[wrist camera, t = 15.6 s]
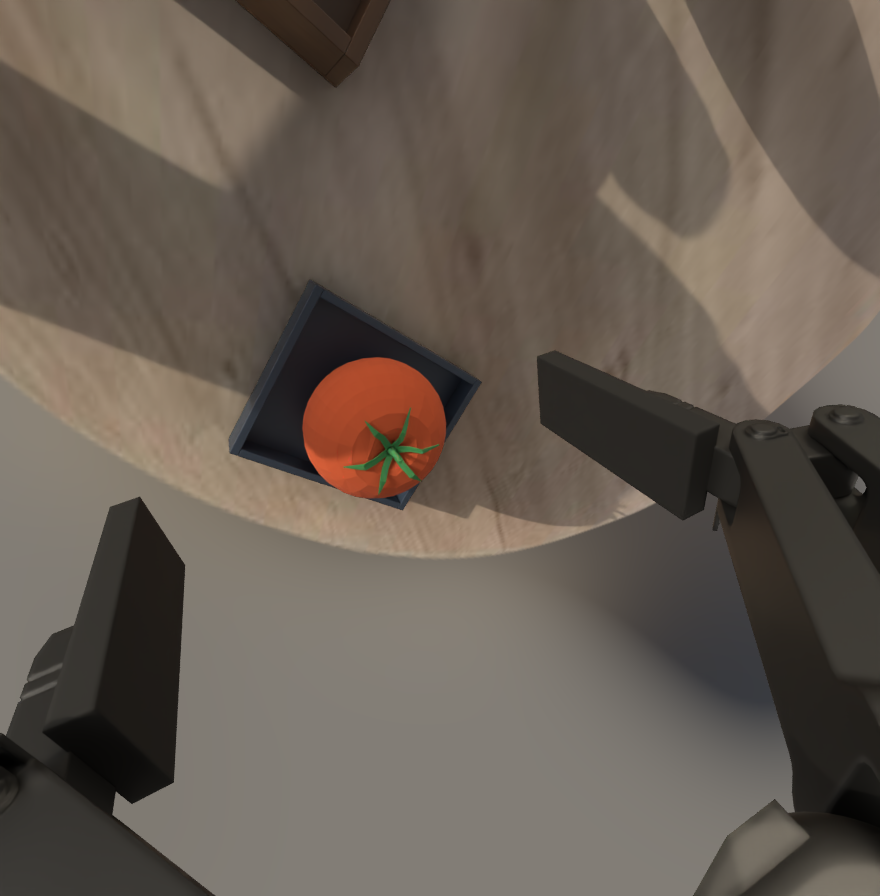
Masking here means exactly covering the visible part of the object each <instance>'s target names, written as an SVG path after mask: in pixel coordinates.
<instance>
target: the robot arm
mask: <svg viewBox="0 0 880 896" xmlns="http://www.w3.org/2000/svg"><path fill="white" fill-rule="evenodd" d="M537 368H538V386H539V404H540V423H541V424H542V425H544V426H545V427H547V428H548V429H549V430H551V431H552V432H554V433H555V434H557V435H558V436H560V437H561V438H563V439H564V440H566V441H567V442H568V443H570V444H571V445H573V446H574V447H576V448H577V449H579V450H580V451H582V452H583V453H585V454H586V455H588V456H589V457H590V458H592V459H593V460H595V461H596V462H598V463H599V464H601V465H602V466H604V467H605V468H607V469H608V470H609V471H611V472H612V473H614V474H615V475H617V476H618V477H620V478H621V479H623V480H624V481H626V482H627V483H629V484H630V485H631V486H633V487H634V488H636V489H637V490H639V491H640V492H642V493H643V494H645V495H646V496H648V497H649V498H650V499H652V500H653V501H655V502H656V503H658V504H659V505H661V506H662V507H664V508H665V509H667V510H668V511H670V512H671V513H672V514H674V515H676V516H677V517H678V518H680V519H681V520H685V519H687V518H689V517H690V516H693V515H694V514H696V513H698V512H700V511H702V510H704V506H705V501H706V496H707V492H709V493H711V494H712V495H714V496H716V497H717V498H718V503H717V507H716V512H715V517H714V522H713V531H717V529H718V525H719V524H720V523H721V525H722V528H723V532H724V535H725V539H726V542H727V545H728V549H729V552H730V555H731V559H732V562H733V566H734V569H735V572H736V576H737V579H738V582H739V586H740V589H741V592H742V596H743V599H744V603H745V606H746V609H747V613H748V616H749V620H750V623H751V626H752V630H753V633H754V636H755V640H756V643H757V647H758V650H759V653H760V657H761V660H762V663H763V666H764V670H765V673H766V677H767V680H768V683H769V687H770V690H771V694H772V697H773V701H774V704H775V707H776V710H777V714H778V717H779V721H780V724H781V728H782V731H783V734H784V738H785V741H786V744H787V748H788V751H789V754H790V759H791V763H792V771H793V776H792V777H793V778H792V795H793V804H794V809H795V812H793V813H787V812H786V811H785V810H784V808H783V807H782V806H781V805H780V804H779V803H778V802H777V801H776V800H775V799H774V800H773V801H772V802H771V803H769V804H768V805H767V806H765V807H764V808H763V809H761V810H760V811H759V812H757V814H755V815H754V816H752V817H751V818H750V819H749V820H747V821H746V822H745V823H743V824H742V825H741V826H740V827H738V828H737V829H736V830H734V831H733V832H732V833H731V834H729V835H728V836H727V837H726V839H725V841H724V842H723V844H722V846H721V848H720V849H719V851H718V853H717V855H716V856H715V858H714V860H713V862H712V864H711V865H710V867H709V869H708V870H707V872H706V874H705V876H704V878H703V880H702V881H701V883H700V885H699V886H698V888H697V890H696V892H695V893H694V895H693V896H880V418H879V417H878V416H876V415H875V414H873V413H870V412H868V411H866V410H864V409H860V408H857V407H855V406H850V405H847V406H845V405H827V406H823V407H819V408H818V409H816V410H815V411H814V412H813V416H812V419H811V422H810V425H808V426H802V427H797V428H792V429H789V428H787V427H785V426H783V425H781V424H779V423H775V422H771V421H766V420H746V421H743V422H740V423H737V424H735V423H733V422H730V421H728V420H726V419H723V418H721V417H719V416H716V415H714V414H712V413H709V412H707V411H705V410H703V409H700V408H698V407H695V408H694V407H693V405H691V404H689V403H686V402H682V401H681V400H679V399H677V398H675V397H672V396H670V395H668V394H664V393H659V392H654V391H649V390H648V391H645V390H643V389H640V388H638V387H636V386H634V385H631V384H629V383H627V382H625V381H622V380H620V379H618V378H616V377H614V376H611V375H609V374H607V373H605V372H602V371H600V370H598V369H596V368H593V367H591V366H589V365H587V364H584V363H582V362H580V361H578V360H575V359H573V358H571V357H569V356H566V355H564V354H562V353H560V352H558V351H555V350H554V351H552V352H549V353H546V354H543V355H540V356H537ZM858 476H859V477H861V478H862V480H863V481H864V483H865V485H866V487H867V488H866V490H865V492H864V493H863V494H862V493H860V492H859V491H858V490H857V489H856V488H855V487H854V486H855V484H856V481H857V479H858ZM184 578H185V564H184V563H183V561H182V560H181V558H180V557H179V555H178V554H177V552H176V551H175V549H174V548H173V546H172V545H171V543H170V542H169V540H168V539H167V537H166V535H165V534H164V532H163V531H162V530H161V528H160V526H159V525H158V523H157V522H156V520H155V519H154V518H153V516H152V514H151V513H150V511H149V510H148V508H147V507H146V505H145V504H144V502H143V501H142V499H141V498H140V497H138V498H135V499H132V500H129V501H126V502H123V503H120V504H118V505H115V506H112V507H110V509H109V512H108V515H107V519H106V522H105V525H104V528H103V532H102V535H101V538H100V542H99V545H98V548H97V552H96V555H95V558H94V561H93V565H92V568H91V571H90V575H89V578H88V581H87V585H86V588H85V591H84V595H83V598H82V601H81V604H80V608H79V611H78V614H77V618H76V621H75V624H74V626H71V627H69V628H66V629H64V630H61V631H59V632H57V633H54V634H52V635H51V637H50V638H49V639H48V641H47V642H46V643H45V645H44V646H43V647H42V649H41V650H40V651H39V652H38V654H37V655H36V657H35V658H34V661H33V664H32V666H31V669H30V672H29V674H28V677H27V681H28V683H26V684H25V685H24V688H23V691H22V694H21V696H20V698H21V701H20V702H18V704H17V707H16V710H15V713H14V715H13V718H12V721H11V723H10V726H9V729H8V732H7V734H6V736H5V735H4V734H2V733H0V896H215V895H214V894H212V893H211V892H210V891H209V890H207V889H206V888H205V887H204V886H202V885H201V884H200V883H198V882H197V881H196V880H195V879H193V878H192V877H191V876H189V875H188V874H187V873H186V872H185V871H183V870H182V869H181V868H179V867H178V866H177V865H176V864H174V863H173V862H172V861H170V860H169V859H168V858H167V857H165V856H164V855H163V854H162V853H160V852H159V851H157V849H155V848H154V847H153V846H152V845H150V844H149V843H148V842H146V841H145V840H144V839H143V838H141V837H140V836H139V835H137V834H136V833H135V832H134V831H132V830H131V829H130V828H129V827H127V826H126V825H125V824H124V823H122V822H121V821H120V820H118V819H117V818H116V817H114V816H113V815H112V813H113V806H114V799H115V793H116V792H118V793H119V794H120V795H121V796H123V797H124V798H125V799H126V800H127V801H129V802H130V803H131V804H133V803H135V802H137V801H139V800H141V799H142V798H144V797H146V796H148V795H150V794H152V793H154V792H156V791H158V790H160V789H162V788H164V787H166V786H168V785H170V784H172V783H173V782H174V768H175V749H176V730H177V729H176V728H177V711H178V710H177V709H178V692H179V673H180V653H181V634H182V616H183V615H182V614H183V597H184Z"/></svg>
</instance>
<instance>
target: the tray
mask: <svg viewBox="0 0 880 896" xmlns="http://www.w3.org/2000/svg"><path fill="white" fill-rule="evenodd" d="M373 357H380V358H390V359H393V360H396V361H399V362H402V363H404V364H407V365H408V366H410V367H412V368H414V369H415V370H417V371H419V372H420V373H421V374H422V375H423V376H424V377H425V378H426V379H427V380H428V381H429V382H430V383H431V385H432V386H433V388H434V389H435V391H436V392H437V393H438V395H439V397H440V400H441V402H442V405H443V409H444V413H445V419H446V436H445V441H446V439H447V438H448V436H449V434H450V433H451V431H452V430H453V428H454V426H455V425H456V423H457V421H458V420H459V418H460V417H461V415H462V413H463V412H464V410H465V408H466V407H467V405H468V404H469V402H470V400H471V399H472V397H473V395H474V394H475V392H476V391H477V389H478V387H479V386H480V384H481V381H479V380H478V379H477V378H475V377H474V376H472V375H471V374H469V373H467V372H466V371H464V370H462V369H461V368H459V367H457V366H456V365H454V364H452V363H451V362H449V361H447V360H445V359H444V358H442V357H440V356H439V355H437V354H435V353H434V352H432V351H430V350H429V349H427V348H425V347H423V346H422V345H420V344H418V343H417V342H415V341H413V340H412V339H410V338H408V337H407V336H405V335H403V334H402V333H400V332H398V331H396V330H395V329H393V328H391V327H390V326H388V325H386V324H385V323H383V322H381V321H380V320H378V319H376V318H374V317H373V316H371V315H369V314H368V313H366V312H364V311H363V310H361V309H359V308H358V307H356V306H354V305H353V304H351V303H349V302H347V301H346V300H344V299H342V298H341V297H339V296H337V295H336V294H334V293H332V292H331V291H329V290H327V289H325V288H324V287H322V286H320V285H319V284H317V283H315V282H314V281H312V280H309V282H308V284H307V286H306V288H305V290H304V292H303V294H302V295H301V297H300V299H299V301H298V303H297V305H296V307H295V309H294V311H293V313H292V315H291V317H290V319H289V321H288V323H287V325H286V327H285V329H284V331H283V333H282V335H281V337H280V339H279V341H278V343H277V345H276V347H275V349H274V351H273V353H272V355H271V357H270V358H269V360H268V362H267V364H266V366H265V368H264V370H263V372H262V374H261V376H260V378H259V380H258V382H257V384H256V386H255V388H254V390H253V392H252V394H251V396H250V398H249V400H248V402H247V404H246V406H245V408H244V410H243V412H242V414H241V416H240V418H239V419H238V421H237V423H236V425H235V427H234V429H233V431H232V433H231V435H230V437H229V452H230V453H231V454H234V455H237V456H240V457H243V458H246V459H249V460H252V461H255V462H258V463H261V464H264V465H267V466H270V467H273V468H276V469H279V470H282V471H285V472H288V473H291V474H294V475H297V476H300V477H303V478H306V479H309V480H312V481H315V482H318V483H321V484H324V485H327V486H330V487H333V488H336V487H334V486H332V485H331V484H329V483H328V482H327V481H326V480H325V479H324V478H323V477H322V476H321V475H320V474H319V473H318V471H317V470H316V468H315V467H314V465H313V464H312V462H311V461H310V459H309V457H308V454H307V452H306V449H305V445H304V437H303V417H304V412H305V409H306V406H307V403H308V401H309V399H310V397H311V395H312V394H313V392H314V390H315V388H316V387H317V386H318V385H319V384H320V382H321V381H322V380H323V379H324V378H325V377H326V376H327V375H328V374H330V373H331V372H332V371H334V370H335V369H336V368H338V367H340V366H342V365H344V364H346V363H348V362H352V361H355V360H359V359H362V358H373ZM445 441H444V443H445ZM420 482H421V481H420ZM420 482H419V483H420ZM419 483H418V484H417V485H415V486H414V487H412V488H410V489H409V490H407V491H405V492H403V493H400V494H397V495H395V496H390V497H386V498H367V499H370V500H373V501H376V502H379V503H382V504H385V505H388V506H391V507H394V508H397V509H400V510H403V509H404V508H405V506H406V504H407V503H408V501H409V499H410V498H411V496H412V495H413V493H414V491H415V490H416V488H417V486H418V485H419ZM336 489H337V488H336Z"/></svg>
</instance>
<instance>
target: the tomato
mask: <svg viewBox="0 0 880 896" xmlns="http://www.w3.org/2000/svg"><path fill="white" fill-rule="evenodd" d="M445 436H446V419H445V413H444V409H443V405H442V402H441V400H440V397H439V395H438V393H437V392H436V391H435V389H434V388H433V386H432V385H431V383H430V382H429V381H428V380H427V379H426V378H425V377H424V376H423V375H422V374H421V373H420V372H419V371H417V370H415V369H414V368H412V367H410V366H408V365H407V364H404V363H402V362H399V361H396V360H393V359H390V358H380V357H373V358H362V359H359V360H355V361H352V362H348V363H346V364H344V365H342V366H340V367H338V368H336V369H335V370H334V371H332V372H331V373H330V374H328V375H327V376H326V377H325V378H324V379H323V380H322V381H321V382H320V384H319V385H318V386H317V387H316V388H315V390H314V392H313V394H312V395H311V397H310V399H309V401H308V403H307V406H306V409H305V412H304V417H303V437H304V445H305V449H306V452H307V454H308V457H309V459H310V461H311V462H312V464H313V465H314V467H315V468H316V470H317V471H318V473H319V474H320V475H321V476H322V477H323V478H324V479H325V480H326V481H327V482H328V483H329V484H331V485H332V486H334V487H336V488H337V489H339V490H341V491H342V492H344V493H347V494H350V495H353V496H355V497H362V498H386V497H390V496H395V495H397V494H400V493H403V492H405V491H407V490H409V489H410V488H412V487H414V486H415V485H417V484H418V483H419V482H420V481H422V480H423V479H424V478H425V477H426V476H427V475H428V473H429V472H430V471H431V470H432V469H433V467H434V466H435V464H436V462H437V461H438V459H439V456H440V454H441V452H442V449H443V445H444V441H445Z"/></svg>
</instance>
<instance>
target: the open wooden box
mask: <svg viewBox="0 0 880 896" xmlns="http://www.w3.org/2000/svg"><path fill="white" fill-rule="evenodd" d="M236 1H237V2H238V3H239V4H240V5H241V6H242V7H244V8H245V9H246V10H247V11H248V12H249V13H250V14H252V15H253V16H254V17H255V18H256V19H257V20H259V21H260V22H261V23H262V24H263V25H264V26H265V27H267V28H268V29H269V30H270V31H271V32H272V33H273V34H275V35H276V36H277V37H278V38H279V39H280V40H282V41H283V42H284V43H285V44H286V45H287V46H288V47H290V48H291V49H292V50H293V51H294V52H295V53H296V54H298V55H299V56H300V57H301V58H302V59H303V60H304V61H306V62H307V63H308V64H309V65H310V66H311V67H313V68H314V69H315V70H316V71H317V72H318V73H319V74H321V75H322V76H323V77H324V78H325V79H326V80H327V81H329V82H330V83H331V84H332V85H333V86H334V87H337V86H338V85H339V84H340V83H341V82H342V81H343V80H344V79H345V78H347V77H348V76H349V75H350V74H351V73H352V72H353V71H354V70H355V69H356V68H357V67H358V66H359V64H360V62H361V60H362V58H363V56H364V54H365V52H366V50H367V48H368V46H369V44H370V42H371V40H372V37H373V35H374V33H375V31H376V29H377V27H378V25H379V23H380V21H381V19H382V17H383V15H384V13H385V11H386V8H387V6H388V4H389V2H390V0H236Z"/></svg>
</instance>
